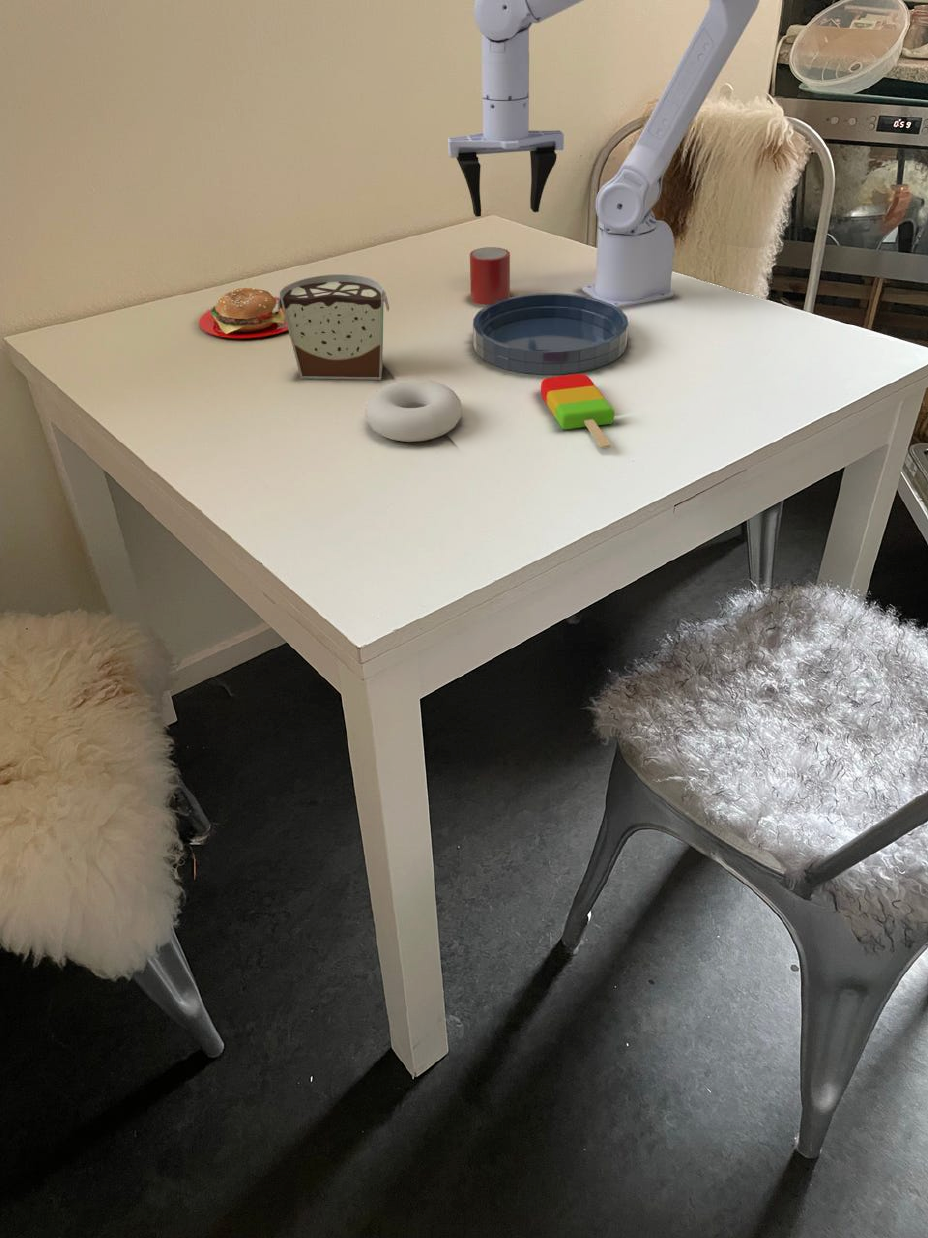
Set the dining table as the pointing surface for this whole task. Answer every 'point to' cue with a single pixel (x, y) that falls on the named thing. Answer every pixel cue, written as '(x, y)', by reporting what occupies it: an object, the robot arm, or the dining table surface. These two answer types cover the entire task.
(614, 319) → the dark blue round plate
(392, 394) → the donut
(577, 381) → the popsicle
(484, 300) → the can
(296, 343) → the food container
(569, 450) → the dining table surface
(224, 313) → the hamburger
